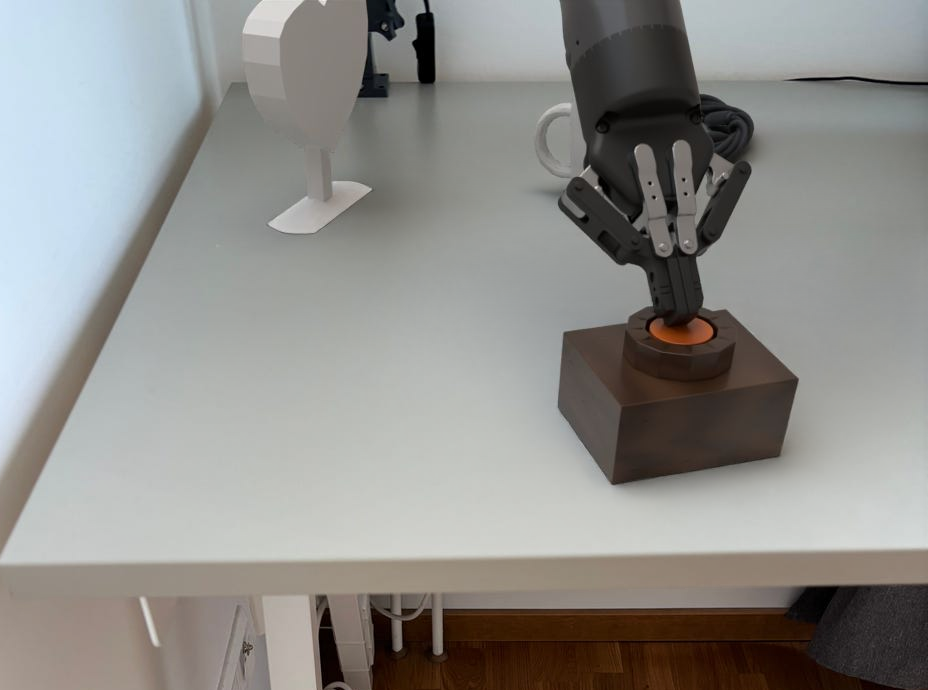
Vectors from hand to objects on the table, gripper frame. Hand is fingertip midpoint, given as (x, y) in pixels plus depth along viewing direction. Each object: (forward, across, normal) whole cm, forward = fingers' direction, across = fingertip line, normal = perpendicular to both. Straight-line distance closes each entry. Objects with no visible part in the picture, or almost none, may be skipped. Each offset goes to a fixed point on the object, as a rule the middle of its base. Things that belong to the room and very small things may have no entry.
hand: (682, 321), depth 69 cm
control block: (+6, 0, +6) cm, 8 cm away
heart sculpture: (-26, -15, +38) cm, 48 cm away
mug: (-22, +11, +34) cm, 42 cm away
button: (+2, 0, +2) cm, 2 cm away
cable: (-32, +27, +43) cm, 60 cm away
